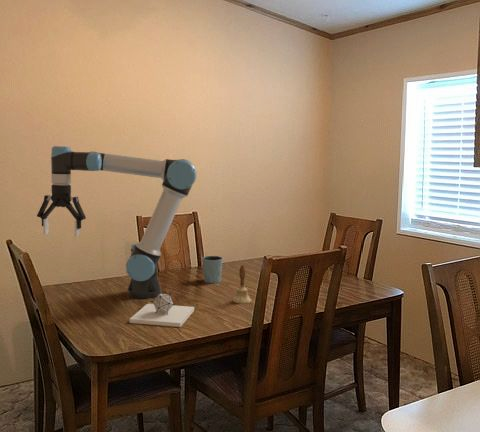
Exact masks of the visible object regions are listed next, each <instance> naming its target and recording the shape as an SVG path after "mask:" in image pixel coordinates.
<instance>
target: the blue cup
mask: <svg viewBox="0 0 480 432" xmlns="http://www.w3.org/2000/svg"><path fill="white" fill-rule="evenodd" d="M201 261H202V267H203V269H202V270H203V281H204V282H205V283H207V284H218V283H221V282H222V272H223V271H222V270H223V261H224V257H222V256H220V255H207V256H204V257H202V260H201Z"/></svg>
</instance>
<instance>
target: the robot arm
mask: <svg viewBox="0 0 480 432" xmlns="http://www.w3.org/2000/svg"><path fill="white" fill-rule="evenodd" d="M50 155H51V156H50V159H51V160H50V163H51V195H50V194H46V195H44V197H43V202H42V204H41V206H40V208H39V210H38V212H37V215H36V217H37V218H40V219H41V227H43V235H44V236H46V235H49V234H50V231H49V227H50V225H49V224H50V223H49V220H50V219H49V218H48V217H49V215H50V214H51V213H52V212H53V211H54V209H55V208H59V207H60V208H66V209H67V210H68V211H69V212H70V214H71V215H72V217H74V219H75V220H74V238H78V237H79V236H80V229H81V228H82V221H83V220H85V219H87V217H86V215H85V212H84V210H83V207H82V206H81V204H80V201H79V200H80V199H79V196H72V185H71V183H72V177H71V176H72V171H84V172H85V171H86V172H99V171H104V172H111V173H120V174H125V175H126V174H127V175H134V176H143V177H150V178H156V179H161V180H162V183H161V187H162V189H163V190H162V192H161V194H160V196H159V199H158V202H157V203H156V206H155V209H154V210H153V213H152V214H151V217H150V220H149V222H148V224H147V226H146V229H145V231H144V233H143V235H142V238H141V239H140V241H139V242H136V243H133V244H131V245H130V246H131V247H130V252H131V253H130V256H129V258H128V259H127V261H126V264H125V269H126V273H127V275H128V276H129V277H130V280H129V283H128V286H127V293H126V294H127V296H128V297H131V298H137V299H151V298H156V297H157V296H158V295H159V292H160V294H162V286H161V283H160V280H159V277H158V263H159V260H160V258H161V256H162V253H161V247H162V245H163V243H164V240H165V239H166V236H167V233H168V231H169V229H170V227H171V224H172V222H173V221H174V218H175V216H176V214H177V211H178V209H179V207H180V205H181V202H182V200H183V199H184V198H186V197H188V196H189V193H190V192H191V189H192V187H193V184H194V183H195V182H196V180H197V170H196V167H195V165H194V164H193V163H192V162H191V161H190V160H188V159H184V158H183V159H182V158H181V159H167V158H166V159H164V160H157V159H150V158H141V157H135V156H127V155H119V154H111V153H104V152H97V151H72V148H71V147H70V146H63V145H62V146H58V145H57V146H56V145H55V146H52V148H51V154H50ZM50 201H52V202H51V204H50V203H49V202H50ZM71 201H72V202H73V203H71ZM49 204H50V205H49ZM72 204H73V205H72ZM48 205H49V207H48Z"/></svg>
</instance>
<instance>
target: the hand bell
mask: <svg viewBox="0 0 480 432" xmlns="http://www.w3.org/2000/svg"><path fill="white" fill-rule="evenodd" d="M245 268H246V267H245V265H243V264H241V265H240V268H239V271H238V272H239V274H238V275H239V278H240V283H239V284H240V285H239V286H240V287H238V288H237V289H236V294H235V296H234V298H233V299H232V302H233V303H236V304H240V305H242V304H244V305H245V304H250V303H251V302H252V298H250V296H249V293H248V288H247V287H245V277H246V269H245Z"/></svg>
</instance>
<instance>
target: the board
mask: <svg viewBox="0 0 480 432" xmlns="http://www.w3.org/2000/svg"><path fill="white" fill-rule="evenodd" d="M194 311H195V306H188V305H187V306H184V305H176V304H175V305H173V306H172V307H171V308H170V310H169V311H168V312H167V313H168V315H167V314H166V313H164V312H157V313H156V309H155V306H154V304H153V303H147V304H145V305H144V306H142V308H141V309H140V310H138V311H137V312H135V314H133V315H132V316H131V317H130V318H129V319H128V320H129V324H137V325H138V324H139V325H151V326H154V325H155V326H164V327H177V328H182V326H183V325H184V323H186V321H187V320H188V318H190V316H191V315H193V313H194Z"/></svg>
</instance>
